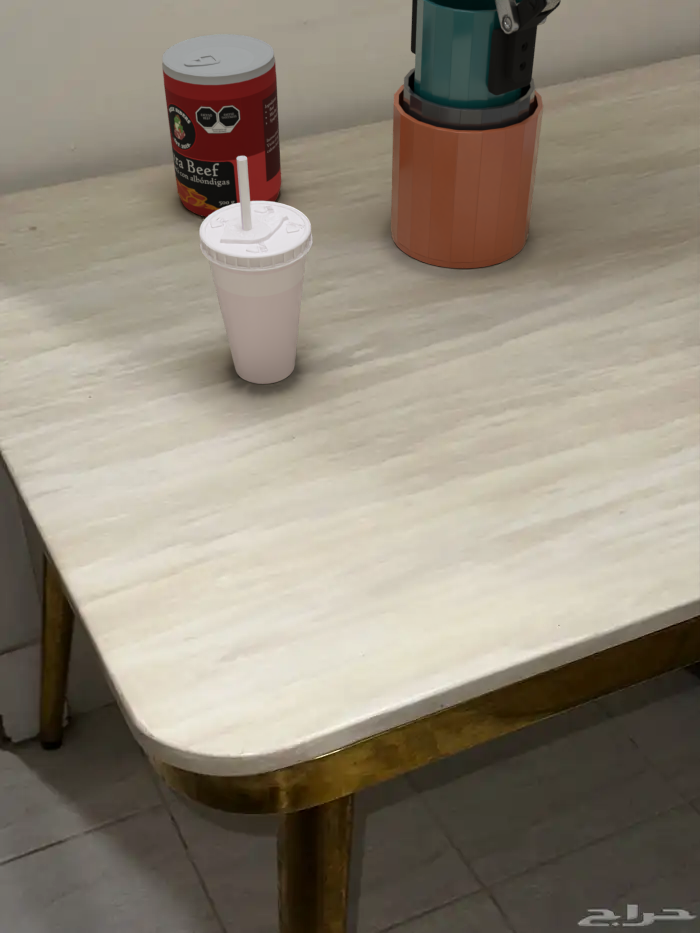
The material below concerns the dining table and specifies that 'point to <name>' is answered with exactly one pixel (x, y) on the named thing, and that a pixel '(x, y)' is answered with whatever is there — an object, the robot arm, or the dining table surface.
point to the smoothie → (258, 279)
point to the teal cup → (457, 53)
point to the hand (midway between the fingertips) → (469, 67)
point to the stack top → (467, 110)
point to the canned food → (222, 119)
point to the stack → (462, 189)
